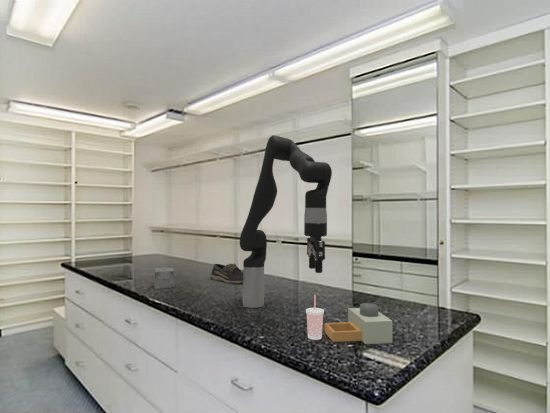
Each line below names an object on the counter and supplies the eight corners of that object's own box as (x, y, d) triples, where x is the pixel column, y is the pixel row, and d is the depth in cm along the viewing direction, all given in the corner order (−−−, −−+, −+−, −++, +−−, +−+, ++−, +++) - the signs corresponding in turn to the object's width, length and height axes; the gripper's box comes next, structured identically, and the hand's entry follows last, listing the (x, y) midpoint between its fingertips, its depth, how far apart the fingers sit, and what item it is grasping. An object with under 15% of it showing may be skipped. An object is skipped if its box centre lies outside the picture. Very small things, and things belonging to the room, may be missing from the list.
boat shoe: (243, 286, 199) (244, 266, 199) (204, 280, 215) (204, 262, 215) (255, 283, 208) (255, 264, 209) (216, 277, 224) (217, 260, 224)
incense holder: (154, 289, 188) (154, 270, 188) (154, 286, 196) (154, 267, 196) (173, 288, 191) (174, 269, 191) (173, 285, 199) (173, 266, 199)
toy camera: (335, 345, 111) (336, 313, 112) (322, 328, 127) (322, 300, 127) (392, 343, 114) (392, 311, 114) (371, 326, 130) (372, 299, 130)
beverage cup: (307, 333, 122) (307, 292, 123) (325, 335, 121) (325, 293, 121) (303, 339, 117) (304, 296, 117) (322, 341, 115) (322, 297, 115)
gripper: (300, 221, 126) (299, 267, 126) (309, 222, 112) (309, 274, 111) (320, 221, 127) (320, 267, 127) (332, 222, 113) (332, 274, 112)
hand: (315, 270), depth 119 cm, fingers open, 8 cm apart
